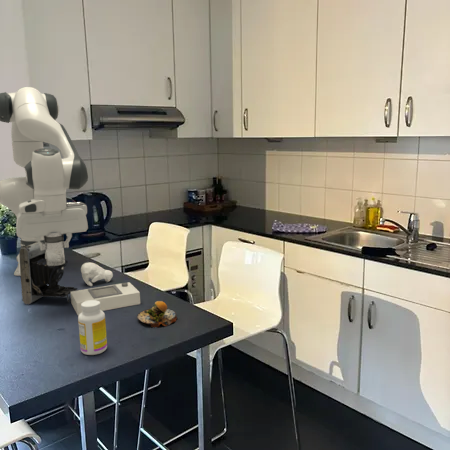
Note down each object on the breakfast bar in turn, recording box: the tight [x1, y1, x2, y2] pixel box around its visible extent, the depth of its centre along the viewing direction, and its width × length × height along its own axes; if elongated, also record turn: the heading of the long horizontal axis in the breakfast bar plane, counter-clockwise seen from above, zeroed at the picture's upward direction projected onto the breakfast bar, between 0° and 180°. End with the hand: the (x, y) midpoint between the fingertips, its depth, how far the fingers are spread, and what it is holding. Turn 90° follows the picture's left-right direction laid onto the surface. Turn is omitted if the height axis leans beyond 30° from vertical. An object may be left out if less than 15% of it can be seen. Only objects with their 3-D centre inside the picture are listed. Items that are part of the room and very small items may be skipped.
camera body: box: [69, 282, 141, 316], centre depth 150 cm, size 12×20×5 cm, turn 118°
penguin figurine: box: [80, 261, 114, 287], centre depth 171 cm, size 6×8×12 cm
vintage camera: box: [18, 241, 78, 305], centre depth 151 cm, size 10×16×20 cm, turn 79°
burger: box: [136, 300, 177, 329], centre depth 136 cm, size 12×12×8 cm
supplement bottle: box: [77, 300, 108, 356], centre depth 116 cm, size 7×7×13 cm
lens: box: [44, 232, 66, 266], centre depth 138 cm, size 6×6×10 cm
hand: (54, 248), depth 138 cm, fingers closed on lens, 5 cm apart
